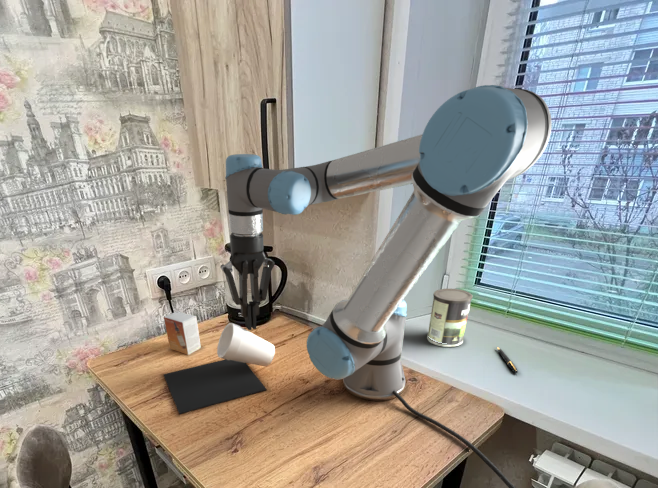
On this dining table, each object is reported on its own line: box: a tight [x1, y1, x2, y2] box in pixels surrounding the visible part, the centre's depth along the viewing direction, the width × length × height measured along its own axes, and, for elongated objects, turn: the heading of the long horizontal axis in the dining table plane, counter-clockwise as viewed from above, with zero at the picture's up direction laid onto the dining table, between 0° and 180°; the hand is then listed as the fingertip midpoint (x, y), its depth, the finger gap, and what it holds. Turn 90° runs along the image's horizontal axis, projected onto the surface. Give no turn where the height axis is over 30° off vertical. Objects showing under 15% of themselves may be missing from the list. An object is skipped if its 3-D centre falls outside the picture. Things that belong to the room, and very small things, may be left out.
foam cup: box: [216, 322, 276, 368], centre depth 108 cm, size 10×9×13 cm
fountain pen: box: [497, 347, 519, 374], centre depth 111 cm, size 14×1×2 cm, turn 176°
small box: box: [163, 310, 202, 356], centre depth 122 cm, size 8×6×10 cm
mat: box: [163, 359, 268, 415], centre depth 107 cm, size 20×22×1 cm
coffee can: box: [426, 288, 473, 348], centre depth 120 cm, size 10×10×14 cm
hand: (250, 327), depth 106 cm, fingers closed
